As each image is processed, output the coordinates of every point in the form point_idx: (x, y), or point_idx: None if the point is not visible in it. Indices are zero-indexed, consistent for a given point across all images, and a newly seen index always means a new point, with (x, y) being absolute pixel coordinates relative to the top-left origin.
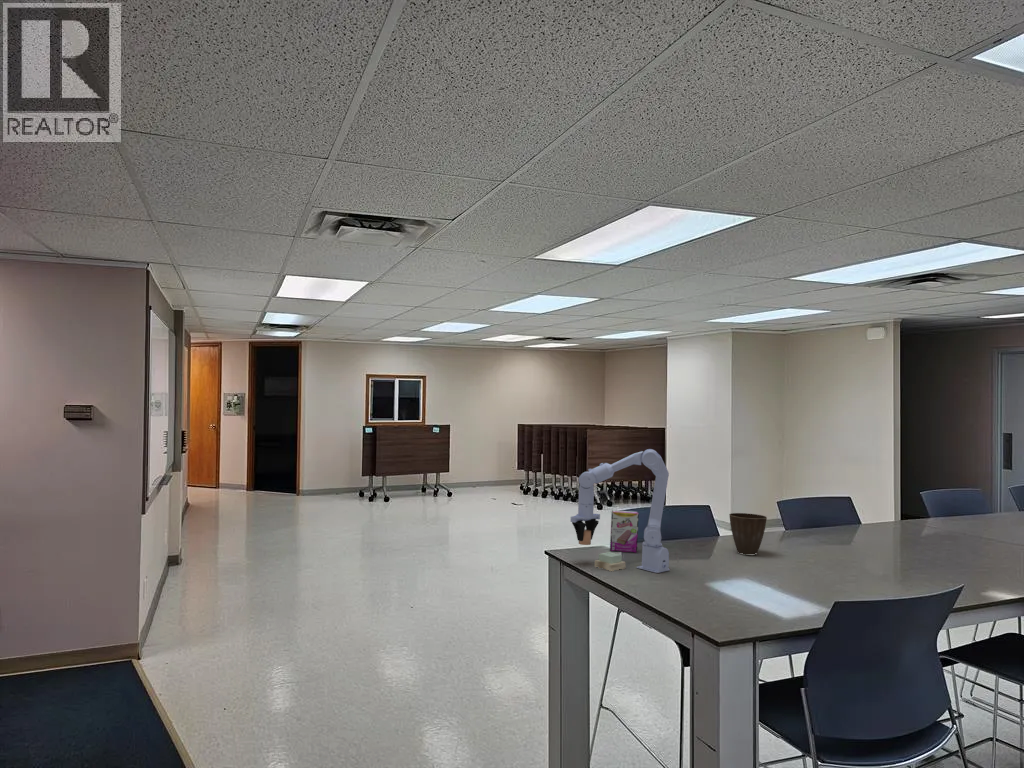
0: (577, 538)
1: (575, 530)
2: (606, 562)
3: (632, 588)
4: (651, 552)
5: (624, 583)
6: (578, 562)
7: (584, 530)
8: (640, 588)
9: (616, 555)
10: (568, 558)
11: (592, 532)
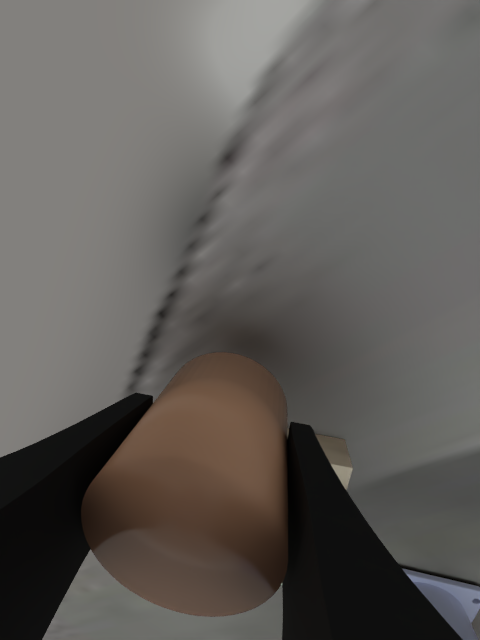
0: (121, 402)
1: (12, 455)
2: None
3: (91, 613)
4: None
5: (115, 585)
6: (246, 300)
7: (167, 538)
8: (112, 628)
9: None
10: (292, 179)
11: (284, 580)
